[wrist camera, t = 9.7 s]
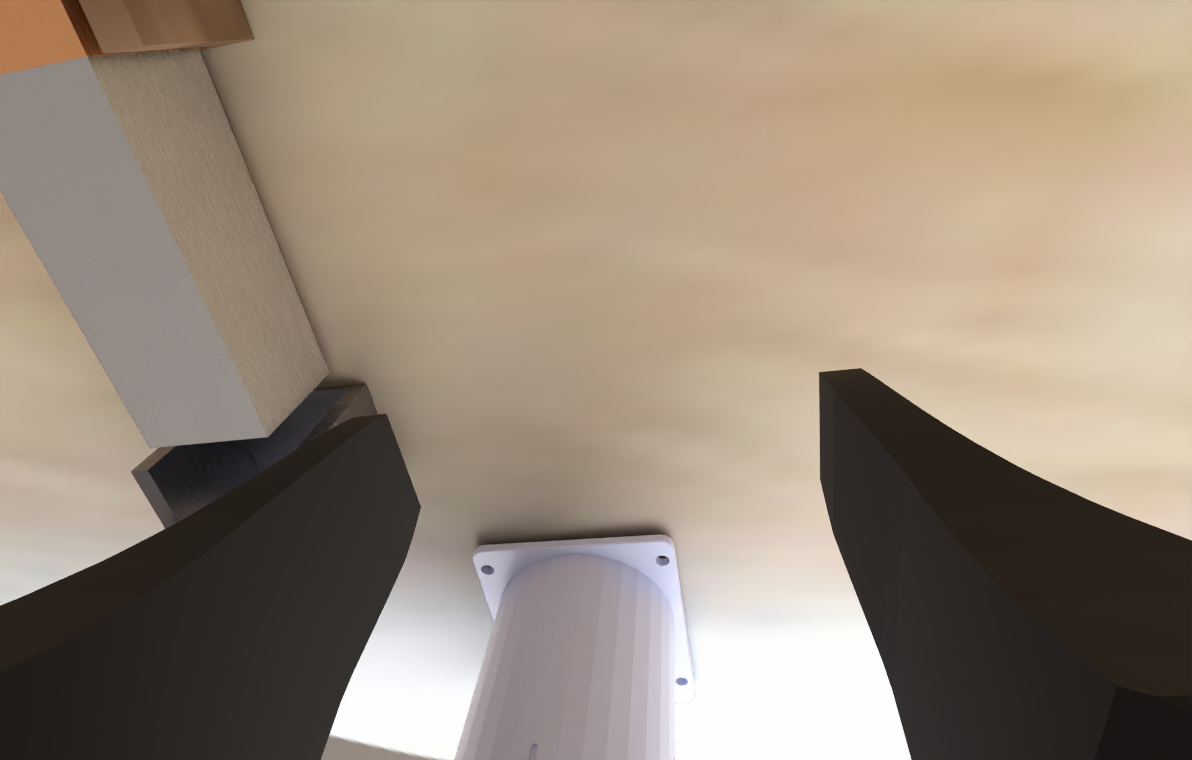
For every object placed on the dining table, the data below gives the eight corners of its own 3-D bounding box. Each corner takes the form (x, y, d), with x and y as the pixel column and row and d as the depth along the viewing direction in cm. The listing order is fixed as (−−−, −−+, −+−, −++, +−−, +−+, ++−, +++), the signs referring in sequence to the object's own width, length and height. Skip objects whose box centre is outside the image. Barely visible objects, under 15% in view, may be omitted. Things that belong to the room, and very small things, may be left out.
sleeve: (404, 485, 25) (343, 592, 21) (264, 496, 26) (176, 600, 22) (366, 383, 23) (289, 477, 19) (215, 399, 24) (106, 492, 20)
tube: (331, 372, 23) (268, 437, 19) (226, 383, 24) (147, 449, 20) (171, -28, 17) (42, -39, 14) (40, 2, 18) (-116, 0, 14)
